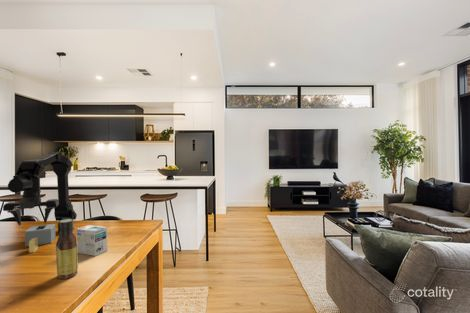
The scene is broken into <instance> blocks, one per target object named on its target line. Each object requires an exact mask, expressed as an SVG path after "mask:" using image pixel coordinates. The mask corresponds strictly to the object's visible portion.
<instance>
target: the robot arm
mask: <svg viewBox="0 0 470 313" xmlns="http://www.w3.org/2000/svg"><path fill="white" fill-rule="evenodd" d="M47 166H51V167H52V171H53V173H54V175H56V180H57V198H58V199H57V198H53V199H47V200H46V201H42V198H41V178H43V175H42V174H41V173H42V172H43V171H44V170H45V167H47ZM72 166H73V162H72V161H71V160H70V159H69V157H67V156H65V155H62V153H60V152H57V151H56V152H52V151H51V152H48V153H47V154H44V155H43V156H40V157H38V158H35V159H27V160H22V161H21V162H20V164H19V166H18V168H17V170H16V173H15V175H13V177H12V179H10V180H9V181H8V183H7V188H8V190H9V191H10V192H12V193H21V192H22V197H21V199H20V200H19V201H9V202H6V203H5V204H3V207H2V211H4V212H7V213H10V214H11V215H12V216H13V217H14V219H15V221H16V223H17V225H18V226H19V227H20V226H21V225H22V215H21V214H22V212H21V211H22V210H27V209H32V210H33V209H34V208H35V207H36V208H37V207H45V208H44V219H43V221H44V222H43V223H44V224H46V223H47V221H48V218H49V217H50V216H49V215H50V214H51V212H52V211H53V209H54V213H53V214H54V220H55V221H56V222H57V221H58V223H57V231H58V232H57V233H59V234H60V226H59V221H61V220H65V219H72V220H73V221H75V220H77V216H78V215H77V214H78V213H76V211H75V209H74V205H73V204H72V203H71V201H70V194H69V192H70V191H69V174H70V173H71V171H72ZM74 229H75V227H74V223H73V224H72V230H73V231H74Z"/></svg>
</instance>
